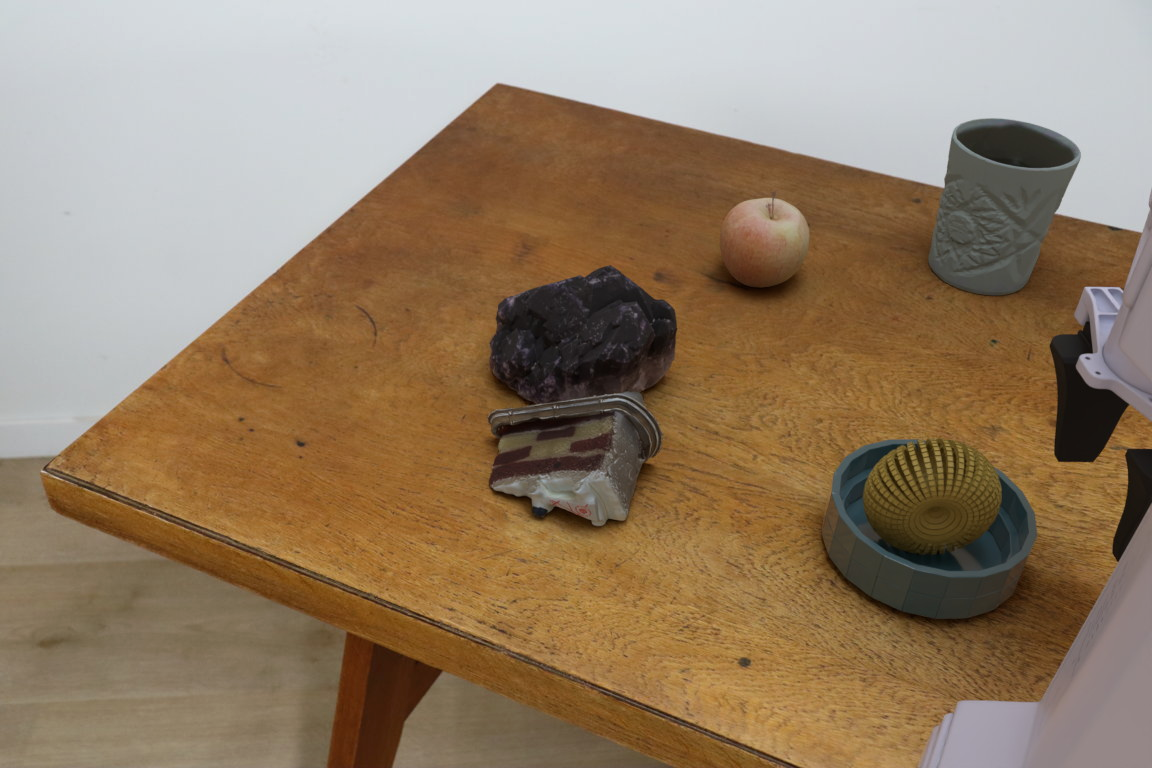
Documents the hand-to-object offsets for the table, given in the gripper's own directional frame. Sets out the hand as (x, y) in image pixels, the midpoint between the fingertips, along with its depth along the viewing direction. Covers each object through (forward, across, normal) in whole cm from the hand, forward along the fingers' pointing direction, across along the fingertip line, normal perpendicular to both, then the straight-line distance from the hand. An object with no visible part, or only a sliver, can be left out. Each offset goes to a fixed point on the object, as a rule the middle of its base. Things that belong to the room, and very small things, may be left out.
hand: (1102, 505), depth 59 cm
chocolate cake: (+10, -12, -28) cm, 32 cm away
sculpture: (+9, -6, -6) cm, 13 cm away
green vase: (+10, -40, +9) cm, 42 cm away
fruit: (+10, -38, -11) cm, 40 cm away
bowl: (+9, -6, -6) cm, 13 cm away
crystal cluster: (+10, -25, -26) cm, 37 cm away
